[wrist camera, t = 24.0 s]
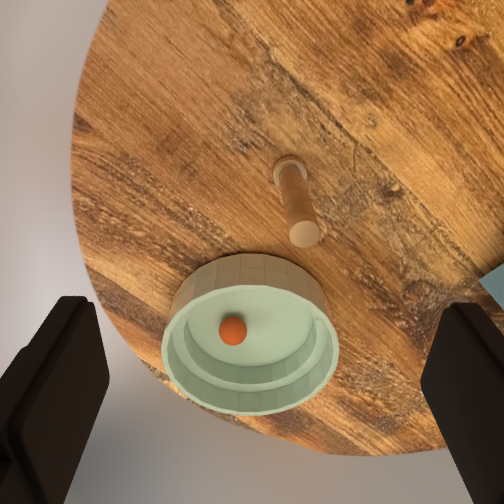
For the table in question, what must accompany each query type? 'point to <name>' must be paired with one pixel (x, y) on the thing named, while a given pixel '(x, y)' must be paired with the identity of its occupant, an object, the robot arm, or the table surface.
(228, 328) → the ball
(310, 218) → the rod
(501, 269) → the teapot
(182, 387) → the bowl
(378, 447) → the table surface
